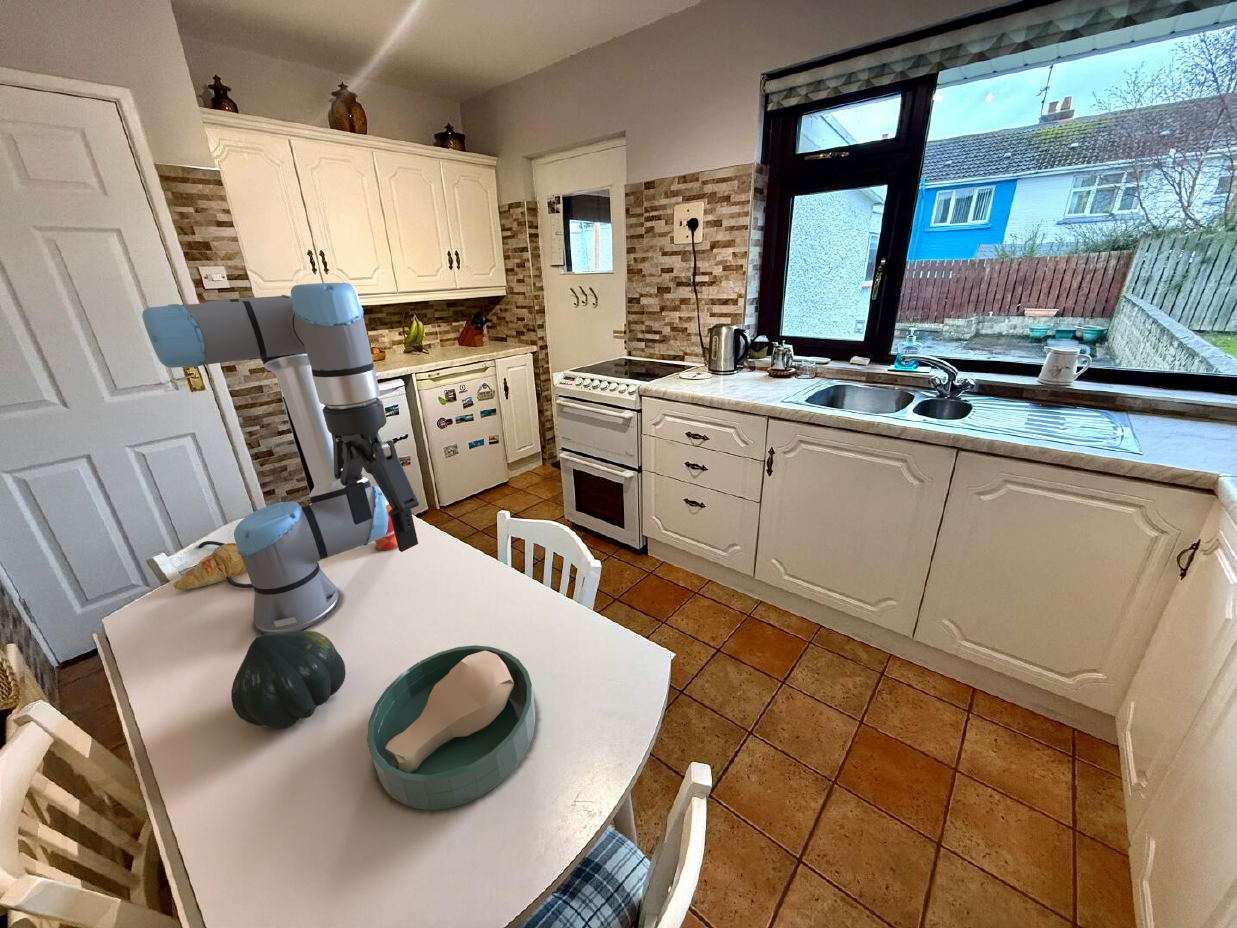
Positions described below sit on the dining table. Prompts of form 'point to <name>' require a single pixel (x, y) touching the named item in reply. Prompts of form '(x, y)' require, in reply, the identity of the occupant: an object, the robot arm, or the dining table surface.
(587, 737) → the dining table surface
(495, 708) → the squash
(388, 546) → the paper cup
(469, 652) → the bowl
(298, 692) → the squash
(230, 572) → the croissant
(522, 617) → the dining table surface
